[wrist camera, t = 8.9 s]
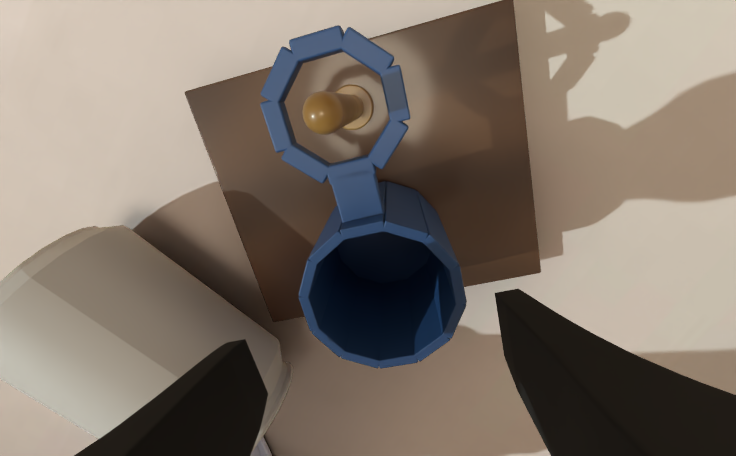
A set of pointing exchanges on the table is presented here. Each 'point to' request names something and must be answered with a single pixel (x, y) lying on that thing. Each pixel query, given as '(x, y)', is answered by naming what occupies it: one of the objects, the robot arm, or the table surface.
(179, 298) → the can
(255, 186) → the peg stand
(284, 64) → the cup
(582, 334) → the robot arm
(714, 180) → the table surface
